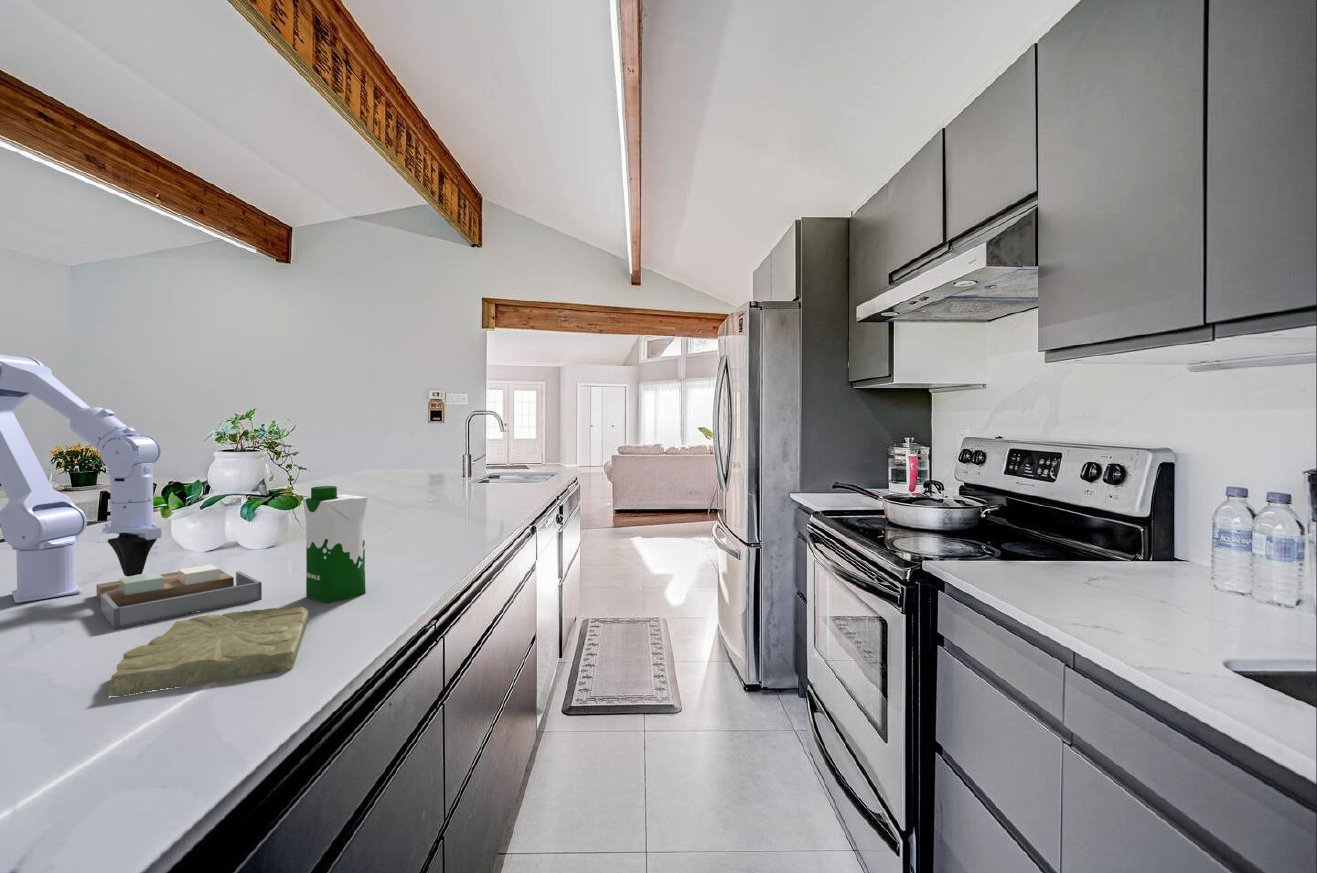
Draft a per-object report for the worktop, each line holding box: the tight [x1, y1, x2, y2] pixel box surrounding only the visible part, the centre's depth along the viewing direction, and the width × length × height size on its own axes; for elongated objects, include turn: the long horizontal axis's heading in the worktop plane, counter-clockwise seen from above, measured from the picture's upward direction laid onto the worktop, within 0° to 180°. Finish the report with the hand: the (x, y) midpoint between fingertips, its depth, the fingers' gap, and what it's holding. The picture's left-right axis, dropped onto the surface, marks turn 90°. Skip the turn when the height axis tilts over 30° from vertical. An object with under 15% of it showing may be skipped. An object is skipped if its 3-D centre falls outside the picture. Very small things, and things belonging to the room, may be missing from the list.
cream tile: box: [178, 564, 221, 585], centre depth 105 cm, size 5×5×2 cm
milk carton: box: [302, 485, 369, 604], centre depth 103 cm, size 9×9×20 cm
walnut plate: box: [96, 569, 235, 607], centre depth 104 cm, size 13×17×2 cm
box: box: [100, 570, 263, 630], centre depth 96 cm, size 12×19×3 cm, turn 142°
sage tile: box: [119, 572, 164, 595], centre depth 99 cm, size 5×5×2 cm
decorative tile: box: [107, 606, 310, 697], centre depth 76 cm, size 19×20×4 cm
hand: (133, 575), depth 103 cm, fingers closed
